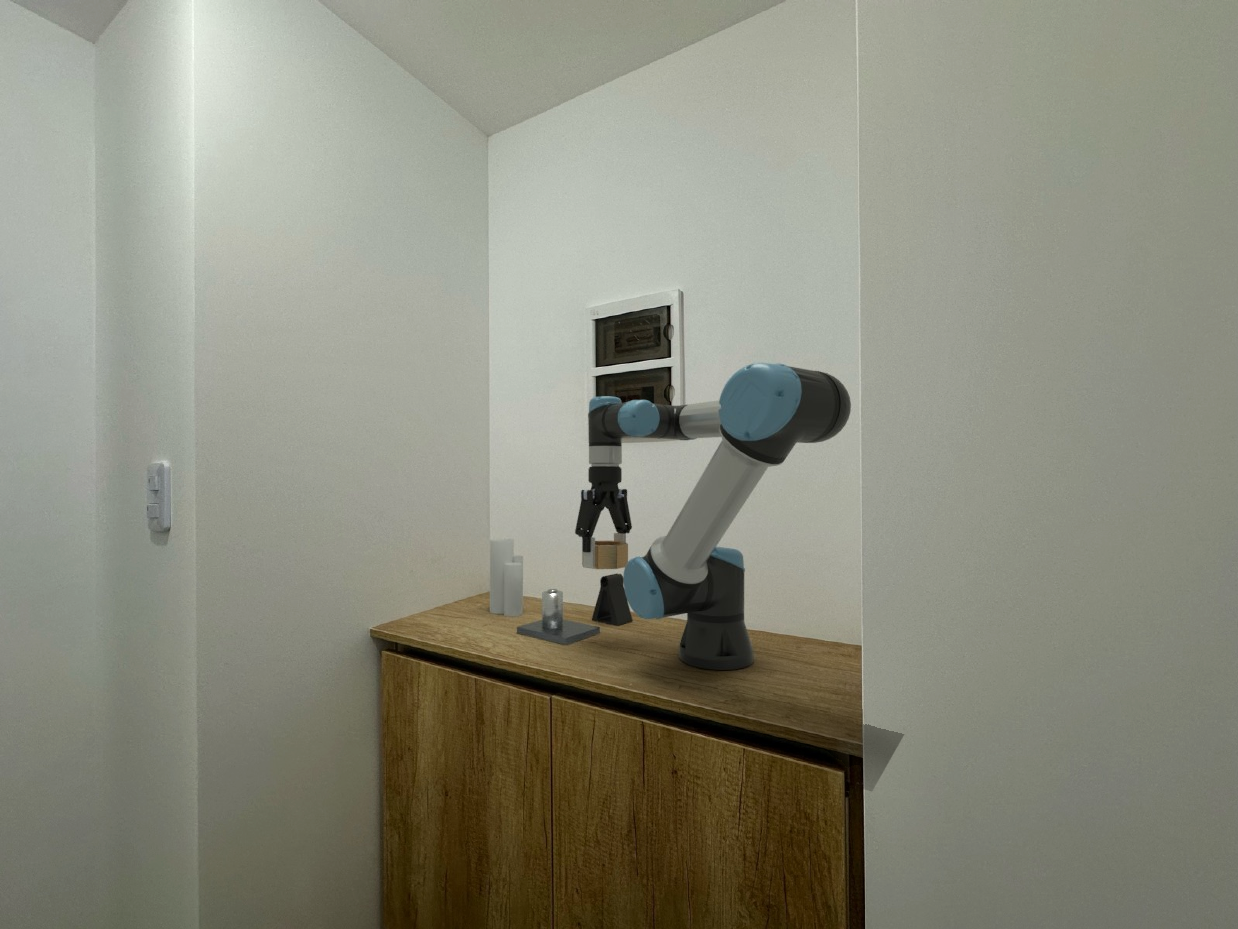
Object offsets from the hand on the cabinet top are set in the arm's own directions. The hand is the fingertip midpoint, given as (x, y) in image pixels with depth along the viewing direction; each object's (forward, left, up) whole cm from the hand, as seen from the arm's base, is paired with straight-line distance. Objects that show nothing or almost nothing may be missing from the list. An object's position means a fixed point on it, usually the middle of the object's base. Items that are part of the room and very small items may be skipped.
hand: (604, 564), depth 126 cm
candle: (+40, -7, -18) cm, 45 cm away
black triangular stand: (+11, -17, -18) cm, 27 cm away
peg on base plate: (+14, 0, -18) cm, 23 cm away
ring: (0, 0, 0) cm, 0 cm away
